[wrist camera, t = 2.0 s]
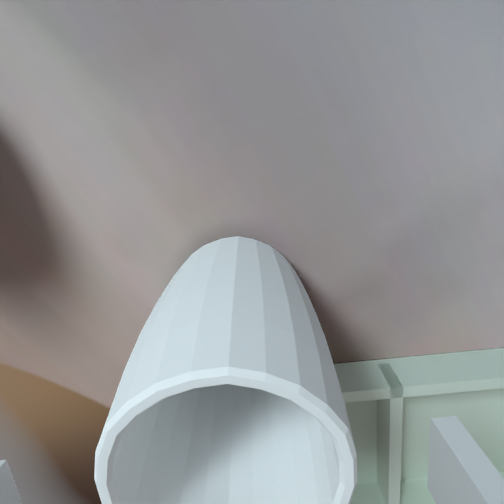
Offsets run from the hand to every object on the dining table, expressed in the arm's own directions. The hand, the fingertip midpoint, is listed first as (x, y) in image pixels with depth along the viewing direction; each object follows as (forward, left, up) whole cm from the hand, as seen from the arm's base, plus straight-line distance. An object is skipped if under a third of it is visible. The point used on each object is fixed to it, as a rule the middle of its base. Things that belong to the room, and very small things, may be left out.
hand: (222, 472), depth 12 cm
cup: (0, 0, -14) cm, 14 cm away
